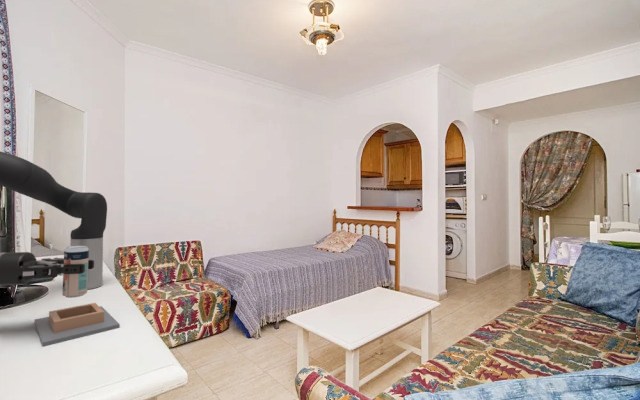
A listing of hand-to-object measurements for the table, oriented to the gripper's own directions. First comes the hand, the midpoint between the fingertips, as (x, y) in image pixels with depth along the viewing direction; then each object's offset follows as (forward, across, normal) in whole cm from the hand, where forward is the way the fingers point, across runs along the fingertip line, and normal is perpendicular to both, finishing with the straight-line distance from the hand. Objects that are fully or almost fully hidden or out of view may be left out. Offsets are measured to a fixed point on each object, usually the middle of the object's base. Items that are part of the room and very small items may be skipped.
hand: (88, 266), depth 77 cm
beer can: (-3, 0, +7) cm, 8 cm away
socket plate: (-2, 0, +14) cm, 15 cm away
